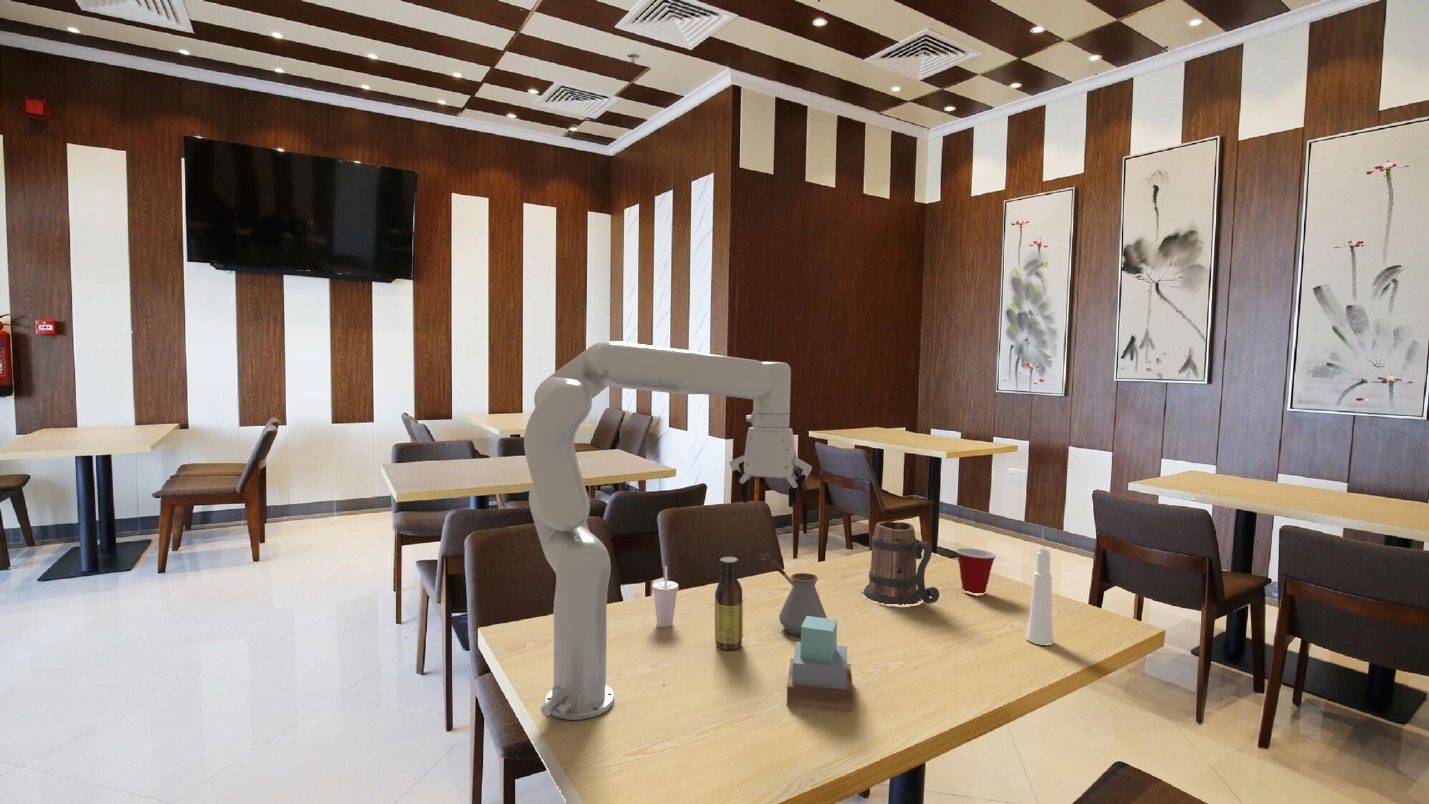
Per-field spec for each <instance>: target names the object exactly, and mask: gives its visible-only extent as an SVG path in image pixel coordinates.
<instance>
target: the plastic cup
mask: <svg viewBox="0 0 1429 804" xmlns="http://www.w3.org/2000/svg"><path fill="white" fill-rule="evenodd" d="M955 553H956V555H957V561H958V565H959V573H960V574H959V575H960V581H961V586H962V587H961V588H962V590H963V589H964V590H965V591H969V592H972V593H984V592H985V593H986V591H987V586H988V584H989V580H990V575H991V570H992V566H993V563H994V560H995V559H996V557H997V554H996V553H995V552H991V551H988V550H984V549H983V550H982V549H978V548H965V547H963V548H961V547H960V548H955Z"/></svg>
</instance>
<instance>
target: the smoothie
mask: <svg viewBox="0 0 1429 804" xmlns="http://www.w3.org/2000/svg"><path fill="white" fill-rule="evenodd" d="M651 587H652V588H651V590H652V591H653V598H654V599H653V600H654V607H655V615H656V616H655V617H656V618H655V619H656V625H657V627H660V628H668V627H669V626H670V627H671V626H673V622H674V616H675V615H674V614H675V609H676V607H675V606H676V600H677V595H678V594H677V593H678V591H679V589H680V588H679V584H678V583H677V582H676V581H671V580H668V566H667V565H666V566H664V580H659V581H656V582H654V583H653V584H652V586H651Z"/></svg>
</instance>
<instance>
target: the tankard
mask: <svg viewBox="0 0 1429 804" xmlns="http://www.w3.org/2000/svg"><path fill="white" fill-rule="evenodd" d="M871 545H872V548H871V559H870V569H869V571H868V573H869V574H868V579H869V582H868V584H867V585H866V586H865V587H864V589H863V590H864V592H863V594H864V595H865V596H866V597H867V598H868V599H871V600H873V601H877V602H879V603H884V604H899V605H902V604H904V605H905V604H915V603H918V601H921V599H922V600H923V601H924V602H923V603H924V604H928V605H930V604H933V603H936V602H938V600H939V599H940V591H939V589H938V588H937V587H936V586H931V587H927V588H926V584H925V573H926V568H927V567H928V566H927V565H928V564H929V562H930V560H931V558H932V553H933V550H932V546H931V545H930V543H928V541H918V540H917V539H916V533H915V527H914V525H912V524H911V523H908V522H903V521H902V522H901V521H898V522H897V521H879V522H877V523H876V524H875V528H874V532H873V535H872V537H871ZM922 553H923V554H922ZM917 560H920V563H919V565H918V567H917ZM930 597H931V598H930Z"/></svg>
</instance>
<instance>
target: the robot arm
mask: <svg viewBox="0 0 1429 804" xmlns="http://www.w3.org/2000/svg"><path fill="white" fill-rule="evenodd" d="M791 376H792V372H791V366H790V365H789V364H788V363H787V362H784V361H783V362H782V361H760V360H757V359H750V358H749V359H748V358H742V357H734V356H725V355H717V354H709V353H703V352H698V351H692V350H688V349H679V348H672V347H663V346H658V345H657V346H654V345H648V344H643V343H642V344H641V343H633V342H627V341H617V340H615V341H614V340H612V341H601V342H597V343H594V344H593V345H591V346H589V347H588V348H586V349H585V350H584V351H583V352H581V353H580V354H578V355H577V356H575V357H574V358H573V359H572V360H570V361H569V362H567V363H566V364H565V365H564V366H562V367H561V368H559V369H558V370H556V371H555V372H554V373H552V374H551V375H549V376H548V377H547V378H545V379H544V380H543V381H542V382H541V383H540V384H539V385H538V387H537V388H536V390H535V393H534V396H533V398H534V400H533V403H534V407H535V408H534V409H533V411H532V412H531V414H530V417H529V419H528V422H527V424H526V426H525V427H526V428H525V430H524V439H523V446H524V453H525V454H524V455H525V459H526V463H527V466H528V470H529V474H530V475H529V476H530V479H531V483H532V485H531V486H530V489H529V493H528V503H529V508H530V513H531V516H532V519H533V523H534V525H535V529H536V532H537V535H538V538H539V542H540V545H541V548H542V551H543V554H544V556H545V559H546V561H547V562H548V564H549V565H550V567H551V568H552V569H553V571H554V572H555V577H556V578H555V581H556V583H555V590H554V591H555V593H554V600H553V687H552V688H551V690H549V692H548V693H547V694H546V695H545V698H544V704H542V706H541V708H540V712H541V714H542V715H543V717H544V716H545V717H548V716H550V715H551V716H552V717H555V718H558V719H562V720H566V721H567V720H571V721H576V720H577V721H579V720H581V721H582V720H586V719H591V718H594V717H598V716H600V715H602V714H603V713H605V712H607V711H608V710H610V709H611V707H612V706H613V705H614V702H615V693H614V690H613V689H612V688H611V687H610V686H608V685H607V622H608V621H607V603H608V589H609V584H610V583H609V582H610V576H611V559H610V555H609V552H608V549H607V547H606V546H605V544H604V542H602V541H601V540H600V539H599V538H598V537H597V536H596V535H594V534H593V533H592V532H591V531H590V529H589V527H588V523H587V520H588V517H589V515H590V511H591V510H590V509H591V505H590V503H591V501H590V498H589V495H588V491H587V489H586V484H585V483H584V479H583V475H582V472H581V469H580V465H579V461H578V458H577V457H578V456H577V453H576V448H575V439H576V434H577V431H578V429H579V428H580V426H581V424H583V422H584V421H585V420H587V418H588V416H589V414H591V413H590V412H591V410H592V406H593V399H594V398H595V397H597V396H598V395H599V394H600V393H602V392H604V390H605V389H606V388H608V387H610V388H611V387H612V388H618V389H619V388H620V389H627V390H629V389H630V390H638V391H648V392H658V393H667V394H668V393H669V394H679V395H709V396H720V397H721V396H722V397H729V398H730V397H731V398H740V399H741V398H742V399H748V400H753V406H752V407H753V409H752V413H751V414H747V415H746V417H745V420H746V422H749V423H751V426H752V427H751V426H750V427H748V430H747V434H746V442H745V448H744V454H743V455H741V456H738V457H736V458H734V459H731V461H729V466H730V468H731V470H732V472H733V475H734V476H735V477H736V479H737V480H738V481H739V483H740V484H741V486H740V488H741V489H740V496H741V499H742V503H743V504H744V503H745V504H747V503H748V502H750V501H751V495H752V493H751V492H752V491H751V488H752V485H751V484H752V483H751V482H750V479H751V478H752V477H756V478H769V479H786V480H787V482H788V483H789V484H790V487H789V488H788V507H789V508H793V507H794V506H795V505H796V504H797V503H798V502H799V501H798V499H799V486H800V485H801V484H802V483H803V482H804V481H806V480H807V478H808V476H809V475H810V474H811V471H812V469H813V466H812V465H811V464H809V463H807V462H805V461H803V460H802V459H800V458H799V457H796V448H795V447H796V446H795V438H794V432H793V428H790V416H791V415H790V414H791V413H790V412H791V409H790V408H791ZM742 462H743V471H742V469H740V466H739V464H741V463H742ZM796 467H798V468H800V469H801V470H802V473H801V474H800V475H799V476H798V477H797V476H796V475H795V472H796Z"/></svg>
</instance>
